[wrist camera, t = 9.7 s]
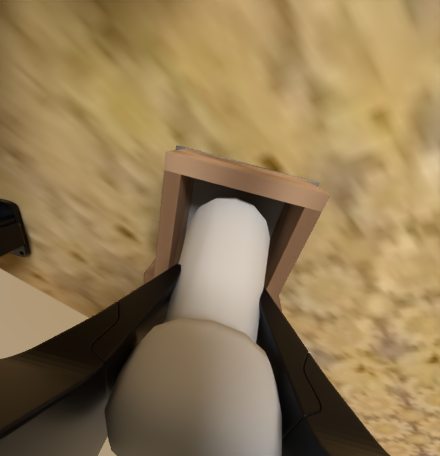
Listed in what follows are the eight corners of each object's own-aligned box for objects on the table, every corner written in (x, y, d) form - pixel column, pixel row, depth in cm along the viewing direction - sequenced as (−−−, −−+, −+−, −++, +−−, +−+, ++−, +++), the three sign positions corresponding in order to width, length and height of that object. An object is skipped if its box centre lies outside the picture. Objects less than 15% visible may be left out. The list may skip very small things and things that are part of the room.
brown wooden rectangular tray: (158, 311, 23) (139, 348, 19) (178, 145, 14) (152, 148, 10) (244, 335, 23) (244, 377, 19) (316, 182, 14) (344, 199, 10)
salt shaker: (271, 247, 16) (339, 539, 4) (208, 258, 17) (129, 505, 6) (257, 180, 14) (324, 410, 2) (186, 198, 15) (-19, 404, 3)
